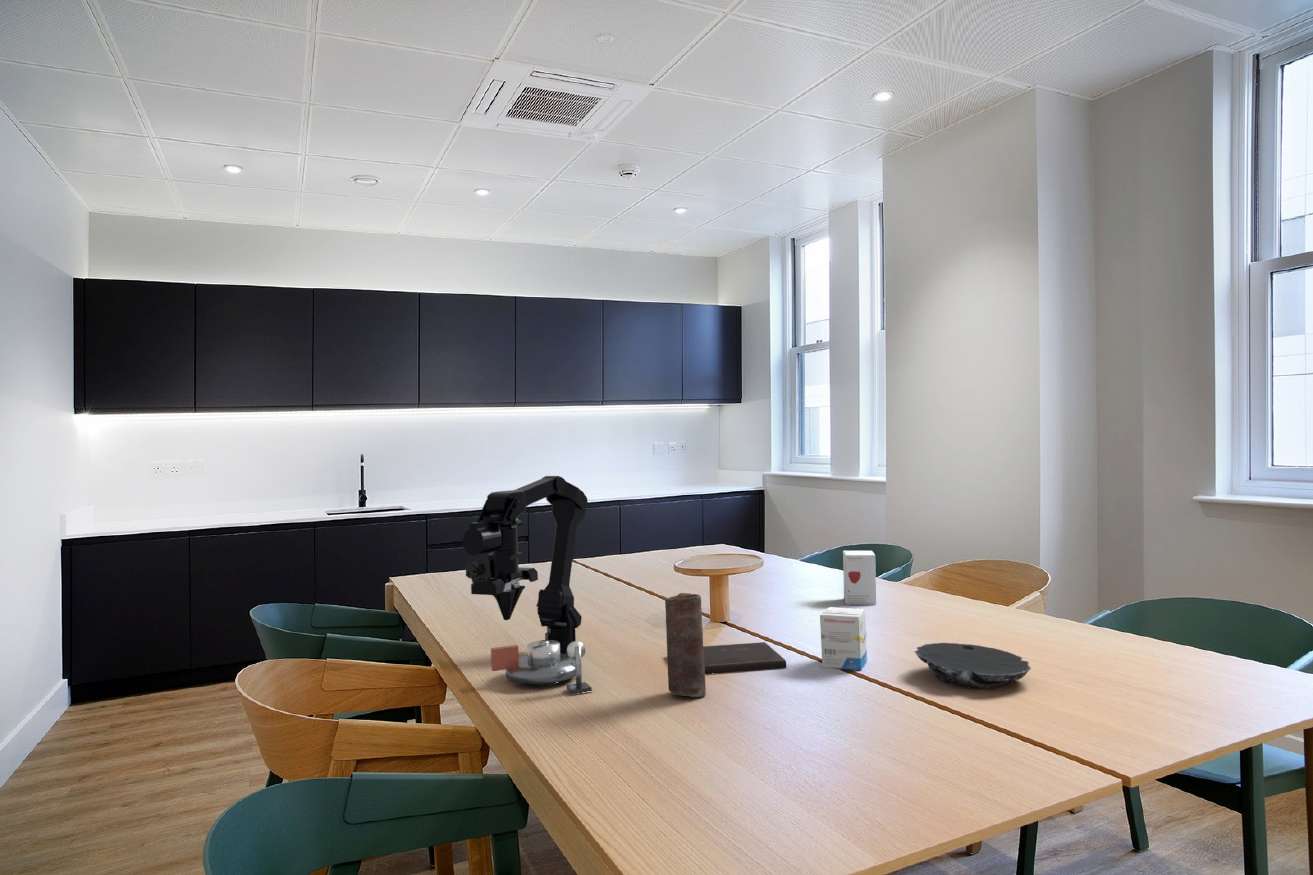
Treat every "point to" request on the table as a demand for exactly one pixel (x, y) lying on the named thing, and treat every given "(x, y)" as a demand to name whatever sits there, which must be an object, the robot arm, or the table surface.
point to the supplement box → (859, 577)
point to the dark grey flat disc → (972, 665)
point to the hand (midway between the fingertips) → (506, 619)
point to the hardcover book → (741, 658)
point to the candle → (685, 645)
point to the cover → (543, 653)
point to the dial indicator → (577, 667)
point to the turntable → (526, 674)
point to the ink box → (843, 638)
